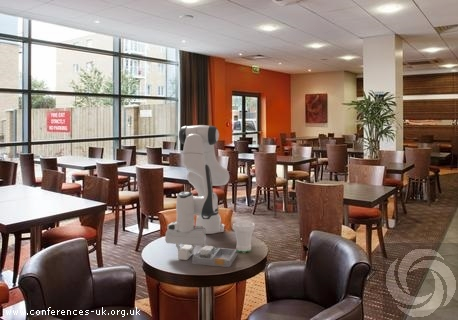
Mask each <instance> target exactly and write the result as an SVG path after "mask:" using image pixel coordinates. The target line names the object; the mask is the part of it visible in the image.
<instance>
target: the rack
mask: <svg viewBox="0 0 458 320" xmlns="http://www.w3.org/2000/svg"><path fill="white" fill-rule="evenodd" d="M237 256H238V252H237V249H236V248H226V247H225V248H224V247H215V245H214V246H213V245H204V246H201V247H200V249H199V250H198V251H197V252H196V253H195V254H194V255H193V256H192V257H191V264H192V265H199V266H200V265H201V266H212V267H225V268H230V267H231V266H232V265H233V262H234V261H235V260H236V258H237Z"/></svg>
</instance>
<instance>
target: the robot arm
mask: <svg viewBox="0 0 458 320" xmlns="http://www.w3.org/2000/svg"><path fill="white" fill-rule="evenodd" d="M219 138H220V133H219V129H218V127H216V126H215V125H212V124H211V125H205V124H198V125H184V126H182V127H181V128H180V129H179V131H178V139H179V142H180V144H181V145H183V150H182V166H183V167H184V168H185V169H186V170H187V176H186V178H187V181H188V182H189V184H191V185H192V186H193V187H194V189H195V190H196V192H197V195H194V194H193V193H192V192H191V191H181V192H179V193H177V196H176V205H175V210H176V211H175V212H176V218H175V219H176V220H175V221H172V222H170V223H169V224H167V225H166V229H167V230H166V232H165V234H164V235H165V237H164V238H165V239H164V240H165V243H166V244H172V245H174V244H175V247H176V248H177V252H178V251H179V250H180V249H181V248H182V247H181V246H180V245H192V247H193V248H192V249H190V253H191V254H192V255H193V254H194V250H195V249H196V246H199V247H200V246H201V247H204V246H206V243H207V235H208V234H210V235H211V234H217V233H222V232H224V231H225V224H224V223H222V218H221V215H220V213H219V212H220V211H219V210H220V208H219V206H218V195H217V193H216V192H214V189H213V186H215V187H217V186H219V187H220V186H224V185H227V184H228V182H229V181H230V173H229V170H228V169H227V168H225V167H223V166H222V165H221V164H220V163H219V161H218V159H217V157H216V156H217V155H216V152H215V151H216V150H215V145H216V144H217V143H218V141H219ZM195 216H196V219H195ZM206 234H207V235H206Z"/></svg>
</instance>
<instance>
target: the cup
mask: <svg viewBox="0 0 458 320" xmlns="http://www.w3.org/2000/svg"><path fill="white" fill-rule="evenodd" d="M255 225H256V224H255V223H254V222H252V221H236V222H235V221H234V223H232V229H233V231H234V235H235V238H236V239H235V240H236V245H235V246H236V248H235V249H237V253H243V254H246V253H247V252H248V253H251V250H252V244H251V243H252V236H253V233H254V230H255V228H256V226H255Z"/></svg>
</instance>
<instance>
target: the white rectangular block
mask: <svg viewBox="0 0 458 320" xmlns="http://www.w3.org/2000/svg"><path fill="white" fill-rule="evenodd" d="M180 248H181V249H180V250H179V251H178V250H177V259H178V260H183V261H188V260H189V259H190V258H191V256H192V255H193V254H191V253H190V249H192V248H193V247H192V245H185V244H183V245H182V247H180Z"/></svg>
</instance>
